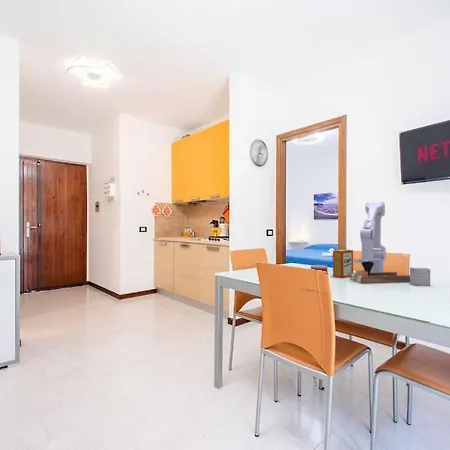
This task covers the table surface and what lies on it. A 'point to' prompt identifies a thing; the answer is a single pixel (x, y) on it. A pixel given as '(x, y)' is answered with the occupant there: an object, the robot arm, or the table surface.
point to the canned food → (319, 267)
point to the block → (362, 273)
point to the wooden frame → (380, 278)
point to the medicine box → (420, 276)
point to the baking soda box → (342, 263)
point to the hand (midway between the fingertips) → (367, 275)
